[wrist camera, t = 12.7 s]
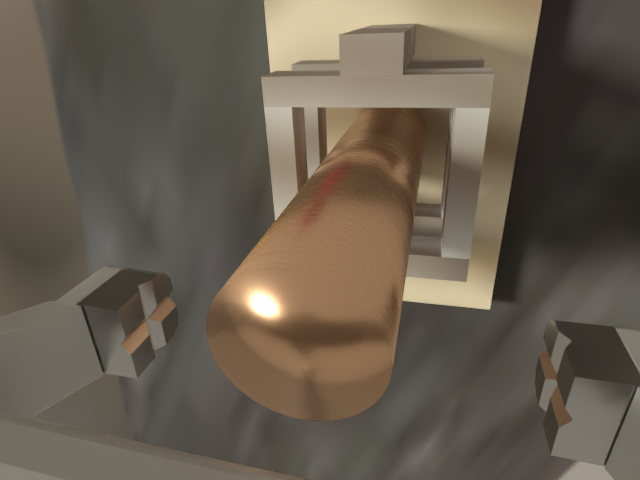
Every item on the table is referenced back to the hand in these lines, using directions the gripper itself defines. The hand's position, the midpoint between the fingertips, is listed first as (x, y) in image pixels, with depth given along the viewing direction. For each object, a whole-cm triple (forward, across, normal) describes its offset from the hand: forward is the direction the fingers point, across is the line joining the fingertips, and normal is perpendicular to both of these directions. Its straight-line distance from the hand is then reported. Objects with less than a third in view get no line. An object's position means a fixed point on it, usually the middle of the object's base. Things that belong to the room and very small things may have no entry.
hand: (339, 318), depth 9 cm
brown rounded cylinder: (+14, +1, 0) cm, 15 cm away
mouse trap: (+16, +1, -1) cm, 16 cm away
